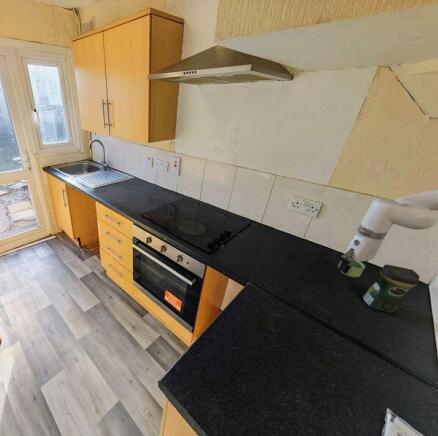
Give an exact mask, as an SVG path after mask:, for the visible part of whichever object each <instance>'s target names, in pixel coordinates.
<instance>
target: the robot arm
mask: <svg viewBox="0 0 438 436" xmlns="http://www.w3.org/2000/svg"><path fill="white" fill-rule="evenodd" d="M434 211H438V189H435V190H434V189H433V190H427V191H426V190H425V191H421V192H417V193H413V194H409V195H405V196H401V197H399V198H396V199H394V200H393V199H389V198H376V199H374V200H373V201H372V202H371V203H370V205H369V207H368V208H367V211H366V213H365V215H364V217H363V219H362V220H361V222H360V224H359V225H358V228H357V230H356V234H355V235H354V236H353V237H352V240H351V241H350V243H349V244H348V246H347V247H346V249H345V251H344V253H343V254H342V255H341V257H340V258H341V260H340V262H341V264H340V263H339V264H340V266H339V265H338V266H339V267H338V266H337V270H338V271H339V272H340V273H342V272H343V273H342V274H344V275H345V274H347V273H348V271H349V269H350V267H351V266H350V265H351V264H352V263H353V262H354V261H355V262H362V263H363V264H364V265H365V266H366V264H367V263H368V262H369V261H370V260H373V259H375V257H376V255H377V253H378V251H379V250H380V248H381V246H382V244H383V241H384V239H385V238H386V236H387V234H388V233H389V231H390V230H391V228H392V226H393V225H397V226H400V227H403V228H405V229H409V230H416V231H417V230H418V231H419V230H420V231H421V230H427V229H430V228H432V227H433V226H435V225H436V224H437V221H438V217H437V215H436V213H435V212H434ZM348 258H349V259H351V261H350V262H349V261H348V260H347V259H348Z"/></svg>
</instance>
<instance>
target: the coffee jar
mask: <svg viewBox="0 0 438 436" xmlns="http://www.w3.org/2000/svg"><path fill="white" fill-rule="evenodd" d="M419 281H420V275H419V274H418V273H417V272H416V271H415V270H414V269H411V268H406V267H401V266H397V265H392V264H384V265H383V266H382V267H381V268H380V270H379V275H378V277H377V278H376V280H375V281H374V282H373V284H372V285H371V286H370V287H369V288H368V289H367V290H366V291H365V292H364V294H363V295H362V299H363V301H364V303H365V304H366V305H367V306H369V307H370V308H372V309H373V310H377V311H380V312H384V313H388V314H394V313H396V312H397V310H398V309H399V307H400V305H401V304H402V301H403V300H404V298H405V296H406V295H407V293H408V292H409V291H410V290H411V289H414V288H415V287H416V286H417V284H418V282H419Z"/></svg>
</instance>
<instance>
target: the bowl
mask: <svg viewBox="0 0 438 436" xmlns="http://www.w3.org/2000/svg"><path fill="white" fill-rule="evenodd" d="M347 260H348V261H349V262H350V261H351V259H349V258H348V259H347ZM340 264H341V261H340V262H339V264H338V266H337V268H338V267H339V266H340ZM350 266H351V267H350V269H349V271H348V273H347V274H344V273H343V272H341V273H342V274H344V275H346V276H348V277H352V278H358V277H361V275H362V273H363V272H364V270H365V269H366V264H365V265H364V264H363V263H362V262H355V261H354V262H353V263H352V264H351V265H350Z"/></svg>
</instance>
